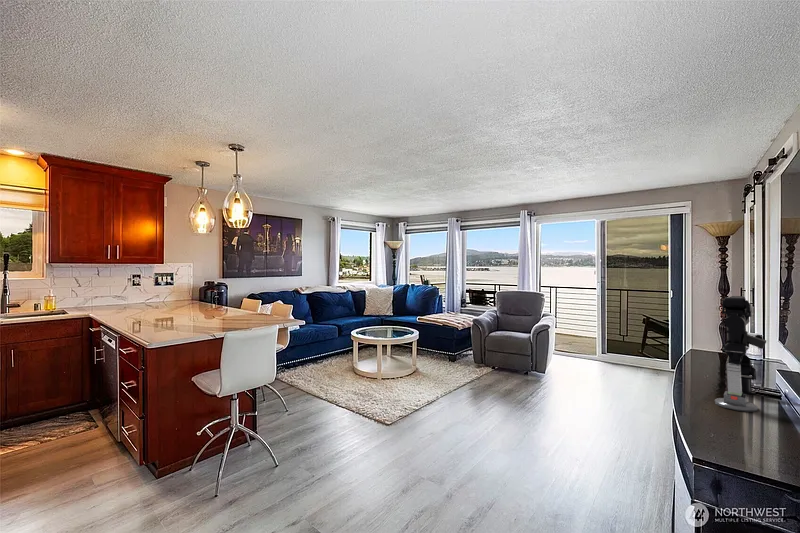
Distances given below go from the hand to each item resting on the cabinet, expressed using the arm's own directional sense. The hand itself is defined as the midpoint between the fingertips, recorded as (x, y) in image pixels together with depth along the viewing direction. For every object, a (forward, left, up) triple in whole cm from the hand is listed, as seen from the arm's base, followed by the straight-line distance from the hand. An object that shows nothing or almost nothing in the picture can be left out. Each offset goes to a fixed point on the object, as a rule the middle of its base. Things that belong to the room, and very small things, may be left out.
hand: (738, 366), depth 147 cm
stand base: (+10, +8, -13) cm, 18 cm away
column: (+10, +8, -9) cm, 15 cm away
